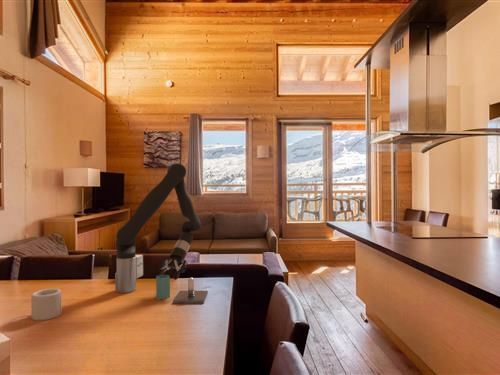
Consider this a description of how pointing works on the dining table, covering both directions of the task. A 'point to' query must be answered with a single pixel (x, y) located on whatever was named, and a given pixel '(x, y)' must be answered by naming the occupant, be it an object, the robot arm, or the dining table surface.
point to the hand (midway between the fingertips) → (167, 278)
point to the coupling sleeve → (163, 286)
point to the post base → (191, 299)
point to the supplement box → (139, 266)
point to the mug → (46, 304)
